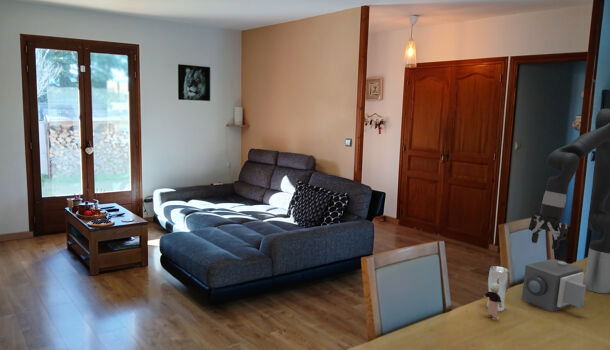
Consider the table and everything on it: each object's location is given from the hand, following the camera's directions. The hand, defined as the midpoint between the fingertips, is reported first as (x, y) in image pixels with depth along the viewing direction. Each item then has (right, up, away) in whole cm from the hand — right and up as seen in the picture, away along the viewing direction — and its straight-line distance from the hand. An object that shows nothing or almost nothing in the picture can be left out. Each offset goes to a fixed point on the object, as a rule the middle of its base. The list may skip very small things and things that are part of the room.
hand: (543, 245), depth 172 cm
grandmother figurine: (-25, -24, -11) cm, 36 cm away
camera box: (+3, -22, +4) cm, 23 cm away
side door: (+10, -22, -5) cm, 24 cm away
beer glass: (-20, -23, -4) cm, 30 cm away
